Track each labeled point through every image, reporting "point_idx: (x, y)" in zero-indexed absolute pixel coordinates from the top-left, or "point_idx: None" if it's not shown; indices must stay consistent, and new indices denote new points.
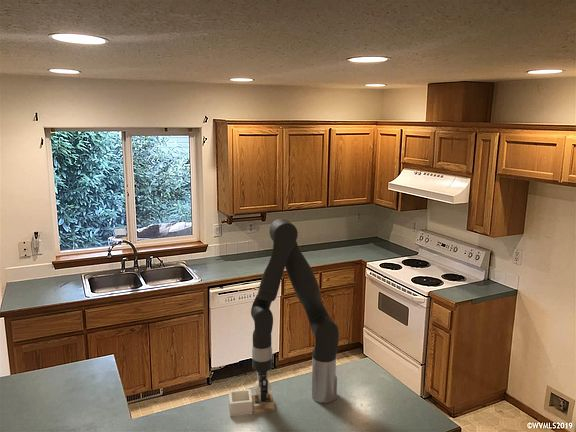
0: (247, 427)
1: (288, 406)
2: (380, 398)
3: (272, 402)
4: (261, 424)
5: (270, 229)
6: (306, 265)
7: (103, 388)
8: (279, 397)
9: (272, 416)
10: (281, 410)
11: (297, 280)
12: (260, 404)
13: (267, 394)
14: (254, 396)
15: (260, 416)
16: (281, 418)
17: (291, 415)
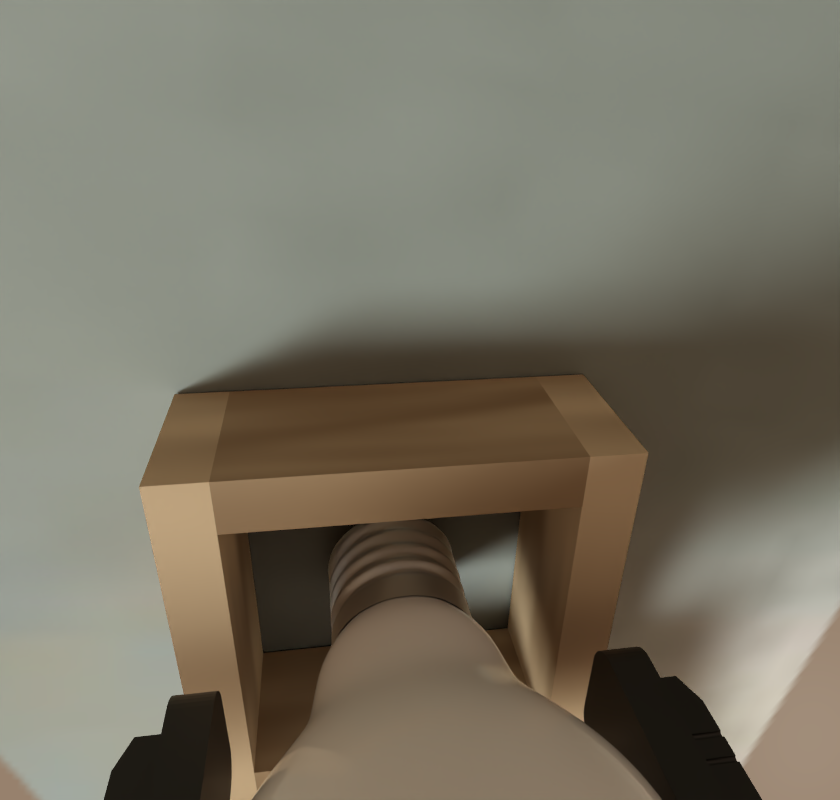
0: (787, 691)
1: (511, 59)
2: None
3: (587, 488)
4: (812, 560)
5: None
6: None
7: None
8: (120, 223)
9: (710, 416)
10: (604, 244)
11: None
12: (578, 675)
13: (572, 715)
14: (257, 740)
15: (643, 571)
16: (824, 276)
17: (833, 54)
